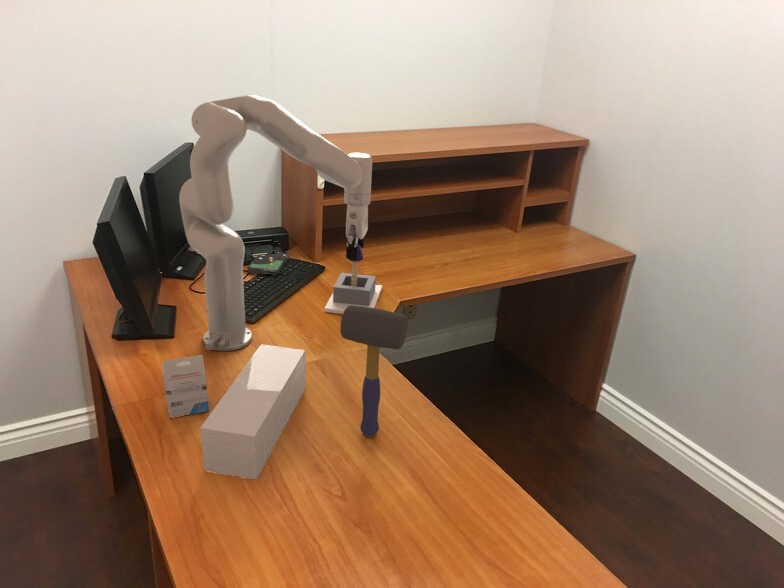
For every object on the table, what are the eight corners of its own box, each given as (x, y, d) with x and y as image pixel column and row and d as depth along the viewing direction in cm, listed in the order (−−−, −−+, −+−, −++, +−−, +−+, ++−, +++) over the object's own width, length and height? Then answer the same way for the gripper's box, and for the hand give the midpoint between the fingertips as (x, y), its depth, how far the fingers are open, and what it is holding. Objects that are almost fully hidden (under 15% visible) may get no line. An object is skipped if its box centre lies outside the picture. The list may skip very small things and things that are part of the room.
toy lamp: (363, 294, 193) (365, 244, 186) (359, 300, 189) (360, 249, 182) (349, 292, 194) (350, 242, 187) (344, 298, 190) (345, 247, 183)
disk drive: (261, 258, 219) (247, 274, 206) (260, 250, 218) (247, 266, 205) (289, 261, 219) (278, 277, 205) (289, 253, 217) (277, 269, 204)
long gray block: (262, 382, 150) (261, 343, 145) (305, 388, 148) (305, 350, 144) (204, 472, 121) (200, 427, 117) (256, 481, 120) (254, 436, 115)
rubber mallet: (401, 430, 136) (411, 307, 123) (391, 451, 129) (400, 324, 116) (348, 417, 139) (351, 296, 126) (335, 437, 132) (338, 312, 119)
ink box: (206, 399, 142) (200, 343, 136) (209, 411, 138) (204, 355, 132) (166, 406, 139) (159, 350, 133) (169, 419, 135) (161, 361, 128)
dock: (371, 317, 182) (371, 298, 180) (324, 311, 184) (324, 292, 181) (381, 288, 200) (382, 271, 198) (339, 284, 202) (339, 266, 199)
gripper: (364, 207, 170) (361, 265, 177) (375, 190, 185) (372, 244, 193) (337, 204, 171) (336, 262, 178) (350, 188, 186) (348, 242, 193)
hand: (354, 253), depth 185 cm, fingers open, 9 cm apart
